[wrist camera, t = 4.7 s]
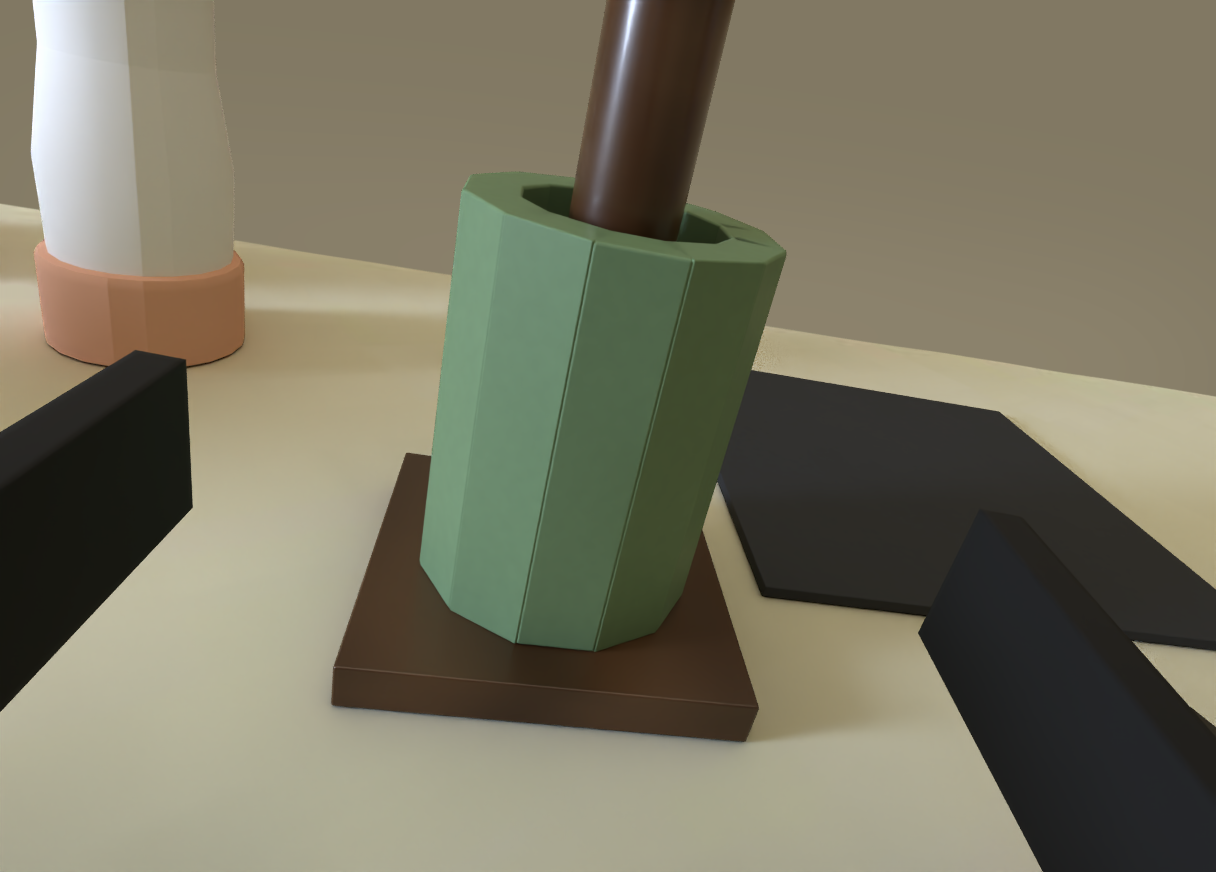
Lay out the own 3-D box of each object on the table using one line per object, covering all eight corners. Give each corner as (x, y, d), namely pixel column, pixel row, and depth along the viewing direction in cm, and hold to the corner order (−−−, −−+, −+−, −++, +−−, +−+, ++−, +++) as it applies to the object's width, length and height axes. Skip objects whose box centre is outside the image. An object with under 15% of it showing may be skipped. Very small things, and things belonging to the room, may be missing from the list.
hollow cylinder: (660, 506, 26) (741, 210, 22) (698, 663, 19) (827, 284, 15) (440, 476, 25) (479, 157, 20) (402, 633, 18) (447, 213, 14)
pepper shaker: (277, 330, 35) (282, -177, 27) (173, 386, 29) (137, -259, 21) (130, 293, 36) (90, -218, 27) (-5, 339, 29) (-112, -313, 21)
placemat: (996, 417, 45) (999, 411, 45) (1284, 658, 28) (1290, 650, 28) (671, 363, 42) (673, 356, 42) (762, 596, 25) (765, 586, 24)
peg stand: (682, 519, 28) (827, 24, 21) (746, 743, 19) (1036, 13, 12) (403, 481, 26) (455, -67, 19) (330, 706, 17) (378, -158, 10)
